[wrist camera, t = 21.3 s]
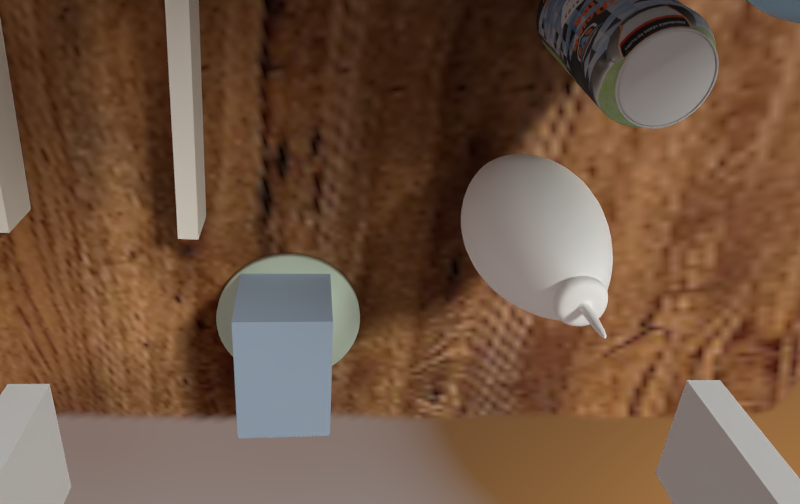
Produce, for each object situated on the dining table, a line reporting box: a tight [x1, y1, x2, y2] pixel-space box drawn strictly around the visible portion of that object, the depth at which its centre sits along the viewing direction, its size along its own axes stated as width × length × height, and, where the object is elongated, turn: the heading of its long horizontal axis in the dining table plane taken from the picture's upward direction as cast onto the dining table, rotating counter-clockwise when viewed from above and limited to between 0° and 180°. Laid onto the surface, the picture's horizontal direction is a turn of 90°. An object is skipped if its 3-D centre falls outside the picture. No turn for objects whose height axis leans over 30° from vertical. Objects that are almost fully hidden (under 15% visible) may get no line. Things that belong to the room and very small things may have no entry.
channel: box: [0, 0, 206, 240], centre depth 38 cm, size 15×12×4 cm
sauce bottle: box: [461, 154, 613, 338], centre depth 38 cm, size 8×8×18 cm
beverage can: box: [537, 0, 719, 129], centre depth 36 cm, size 6×7×12 cm
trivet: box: [216, 253, 360, 365], centre depth 48 cm, size 10×10×1 cm
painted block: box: [232, 274, 333, 438], centre depth 45 cm, size 9×6×6 cm, turn 176°
